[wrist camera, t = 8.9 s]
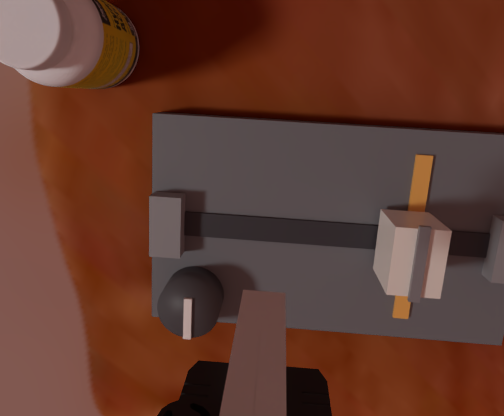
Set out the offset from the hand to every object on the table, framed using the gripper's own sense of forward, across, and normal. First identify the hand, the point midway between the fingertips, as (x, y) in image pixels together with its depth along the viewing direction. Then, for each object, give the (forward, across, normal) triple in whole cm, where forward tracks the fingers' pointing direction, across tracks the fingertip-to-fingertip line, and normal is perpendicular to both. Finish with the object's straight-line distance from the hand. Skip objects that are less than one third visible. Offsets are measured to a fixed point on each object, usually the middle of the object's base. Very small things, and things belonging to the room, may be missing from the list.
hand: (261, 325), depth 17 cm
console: (+16, +4, -1) cm, 17 cm away
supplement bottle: (+17, -12, +10) cm, 23 cm away
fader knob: (+14, +8, -1) cm, 16 cm away
